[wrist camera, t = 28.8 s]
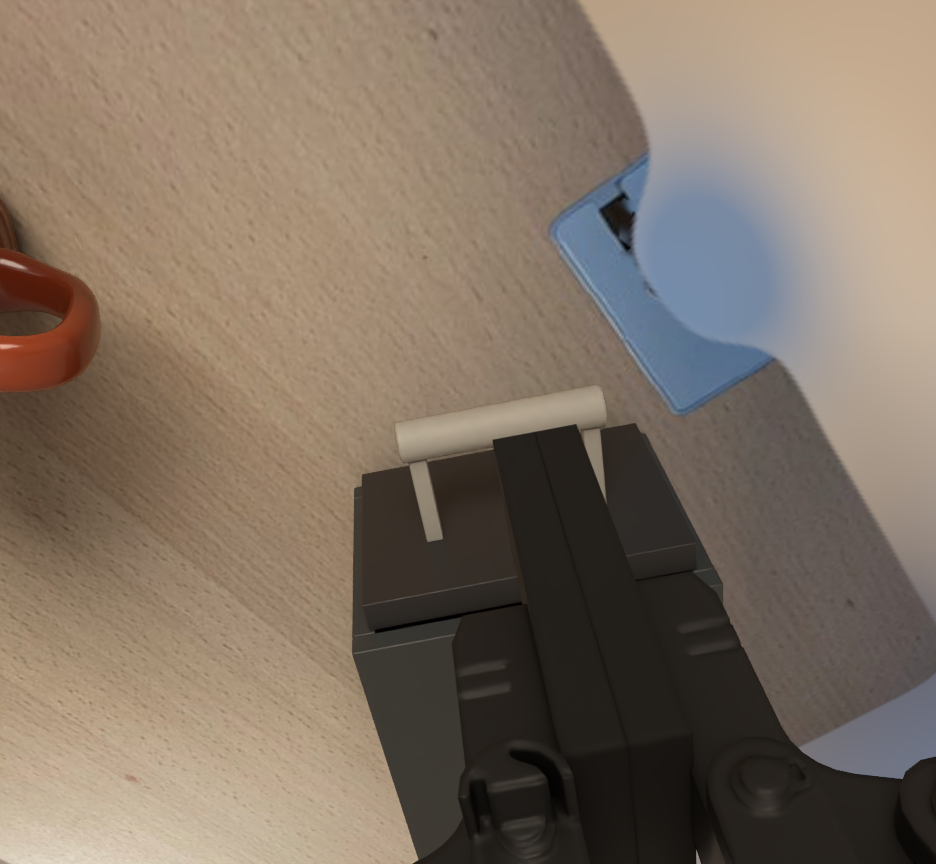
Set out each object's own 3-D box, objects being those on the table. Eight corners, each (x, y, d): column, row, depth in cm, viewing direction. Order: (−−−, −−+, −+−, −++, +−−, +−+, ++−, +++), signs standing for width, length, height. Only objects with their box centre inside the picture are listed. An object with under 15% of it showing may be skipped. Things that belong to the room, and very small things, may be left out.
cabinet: (353, 487, 38) (351, 654, 29) (645, 432, 38) (723, 583, 29) (417, 714, 45) (429, 895, 37) (659, 668, 45) (723, 839, 37)
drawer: (333, 369, 34) (326, 489, 27) (629, 314, 34) (694, 420, 27) (421, 695, 43) (432, 841, 37) (650, 652, 43) (702, 790, 37)
